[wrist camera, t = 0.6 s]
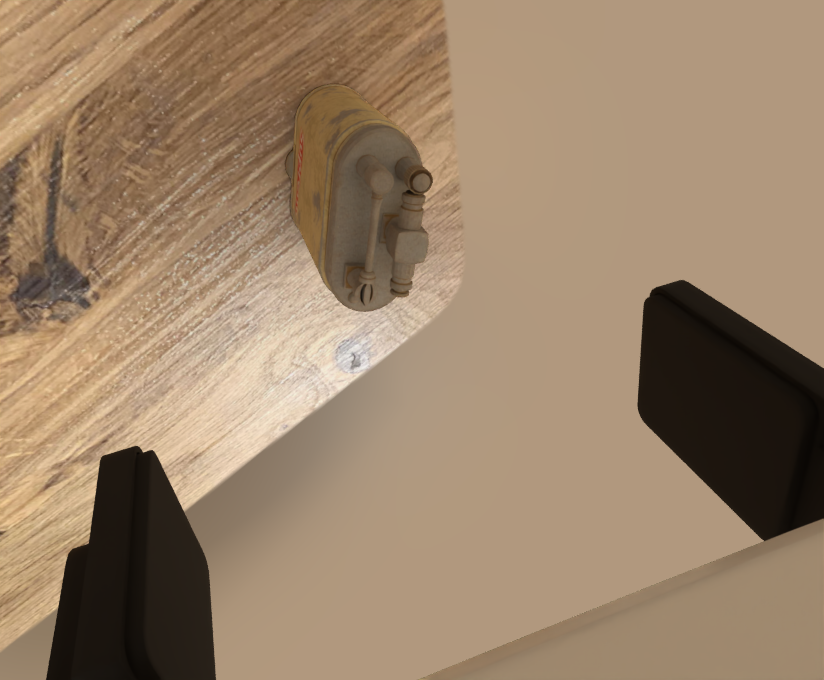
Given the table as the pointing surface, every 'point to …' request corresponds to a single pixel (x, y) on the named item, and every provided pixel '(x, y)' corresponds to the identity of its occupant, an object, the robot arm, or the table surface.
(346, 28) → the table surface
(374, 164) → the lighter
